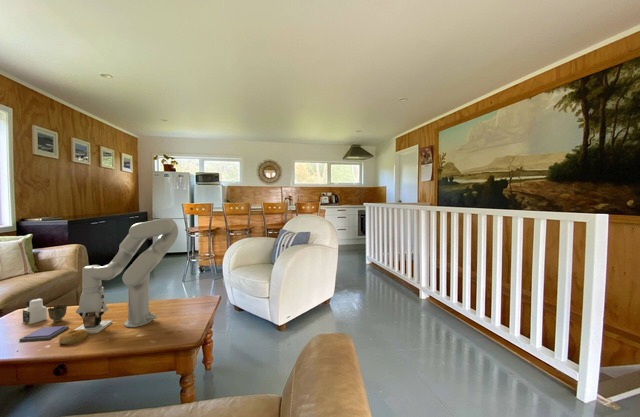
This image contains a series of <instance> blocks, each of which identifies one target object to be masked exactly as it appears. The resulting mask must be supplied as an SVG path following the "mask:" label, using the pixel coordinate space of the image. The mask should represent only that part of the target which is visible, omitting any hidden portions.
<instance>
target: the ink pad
mask: <svg viewBox="0 0 640 417" xmlns="http://www.w3.org/2000/svg"><path fill="white" fill-rule="evenodd" d="M68 329H69V325H62V326H61V325H60V326H46V327H45V326H44V327H39V328H38V329H36V330H34V331H32V332H31V333H28V334H27V335H25V336H23V337H21V338H20V339H19V342H20V343H21V342H23V343H24V342H37V341H38V342H39V341H50V340H51V339H53V338H55V337H57V336H58V335H60V334H63V332H65V331H67V330H68Z"/></svg>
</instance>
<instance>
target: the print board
mask: <svg viewBox="0 0 640 417" xmlns="http://www.w3.org/2000/svg"><path fill="white" fill-rule="evenodd" d="M112 323H113V320H111V319H110V320H101V323H100V324H99V325H97V326H96V327H93V328H84V324H83V323H82V325H80V326H78V327H76V328H75V329H74V330H80V329H84V330H85V331H87V332H88V335H89V334H98V333H99V332H101V331H102V330H104V329H105V328H107V327H108V326H109V325H111V324H112Z"/></svg>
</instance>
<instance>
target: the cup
mask: <svg viewBox="0 0 640 417" xmlns="http://www.w3.org/2000/svg"><path fill="white" fill-rule="evenodd" d="M67 308H68V305H66V304H64V305H63V304H62V305H59V304H58V305H54V306H53V307H49V308H48V307H47V314H48V318H49V319H50V320H51V321H52V323H56V324H57V323H60V322H62V321H63V318H64V317H65V316H66V315H67Z"/></svg>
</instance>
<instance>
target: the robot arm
mask: <svg viewBox="0 0 640 417" xmlns="http://www.w3.org/2000/svg"><path fill="white" fill-rule="evenodd" d="M178 235H179V227H178V225H177V223H176V221H175V220H174V219H172V218H170V217H162V218H159V219H158V218H157V219H154V220H149V221H144V222H137V223H134V224H133V225H131V226H130V228H129V229H128V234H127V235H126V237H124V239H123V240H122V242H120V243H119V247H118V248H119V249H118V252H117V253H116V254H115V256H114V257H113V259H112V260H111V261H110V262H109V263H108V264H104V265H103V266H101V265H99V264H92V265H90V264H89V265H86V266H84V267H82V269H81V270H82V273H81V274H82V279H81V280H82V282H81V284H82V286H81V287H82V293H81V294H80V297H79V303H78V308H77V309H76V311H75V313H76V314H77V315H79V316H80V317H81V319H82V322H83V323H82V325H83V324H84V317H86V316H87V315H88V312H95V313H96V318H95V325H98V324H100V323H101V321H102V316H103V315H104V314H105V313H106V312H107V311H109V307H107V304H106V303H107V301H106V296H105V294H106V293H105V292H104V290H105V286H103V285H102V281H109V280H112V279H115V277H117V276H118V275H120V274H121V273H122V272H123V270H125V268H126V267H127V266H128V264H129V263H130V262H131V260H133V257H134V256H135V255H136V253H137V252H138V251H139V249H140V248H141V246H142V245H143V244H144V243H145V241H147V239H149V238H150V239H151V238H153V237H157V238H156V239H155V240H154V241H153V243H152V244H151V245H150V246H149V247H148V248H147V249H146V250H145V251H142V253H140V254H139V255H138V256H137V258H135V260H134V261H133V262H132V264H130V265H129V267H128V268H127V269H126V270H125V271H124V273H123V275H122V278H121V280H122V282H123V284H124V285H125V286H127V319H126V320H125V322H124V323H123V325H124V327H126V328H137V327H141V326H145V325H147V324H149V323H150V322H152V321H153V320H156V319H157V317H158V316H157V314H156V313H152V312H151V311H150V303H149V302H150V299H149V298H150V277H151V276H150V274H151V272H152V271H154V269H155V267H156V266H157V265H158V264H159V263H160V262H161V261H162V259H163V258H164V257H165V255H166V254H167V252H169V251H170V249H171V248H172V247H173V245H174V244H175V243H176V241H177V238H178Z"/></svg>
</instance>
